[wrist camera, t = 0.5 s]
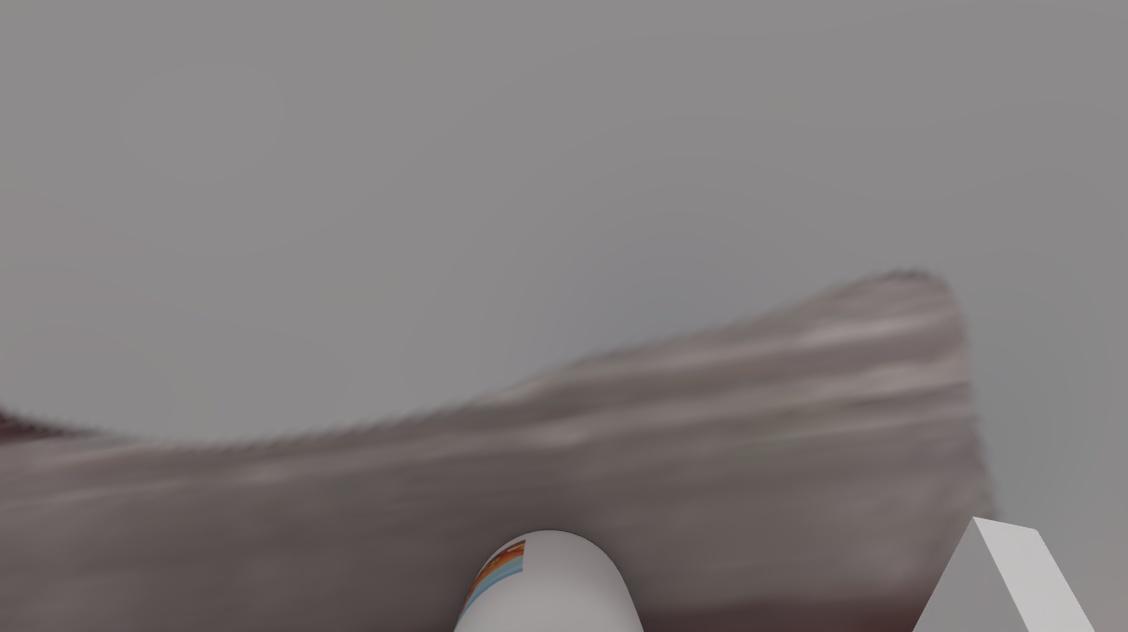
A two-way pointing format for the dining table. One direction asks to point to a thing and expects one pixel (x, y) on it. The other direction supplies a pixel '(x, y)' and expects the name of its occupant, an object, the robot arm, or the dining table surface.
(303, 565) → the dining table surface
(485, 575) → the milk bottle
